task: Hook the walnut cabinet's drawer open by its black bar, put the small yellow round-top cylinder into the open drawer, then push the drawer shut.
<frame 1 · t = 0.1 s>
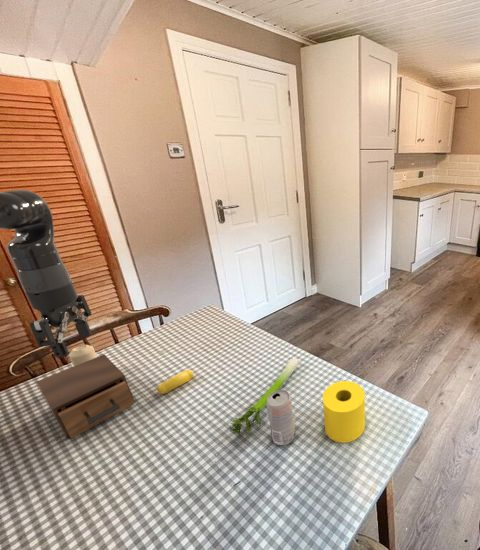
hand: (75, 345, 73), 20 cm above the table, tool pointing down, fingers open, 8 cm apart
yellow toilet paper roll: (345, 425, 76), on the table
energy drink: (284, 437, 73), on the table
drawer: (93, 400, 77), point 5 cm above the table, slide at 1.0 cm
yellow round-top cylinder: (177, 385, 89), on the table
candle: (91, 374, 93), on the table
celery stalk: (270, 398, 84), on the table
cabinet: (93, 405, 82), on the table
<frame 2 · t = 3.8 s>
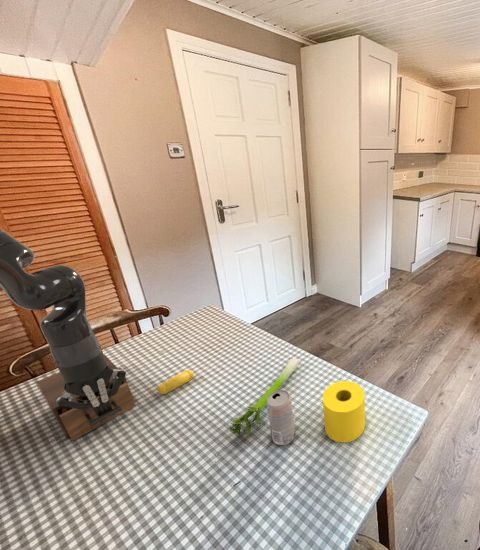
hand: (105, 414, 73), 5 cm above the table, tool pointing down, fingers closed
drawer: (94, 402, 77), point 5 cm above the table, slide at 2.0 cm, touching gripper
everything else where it was.
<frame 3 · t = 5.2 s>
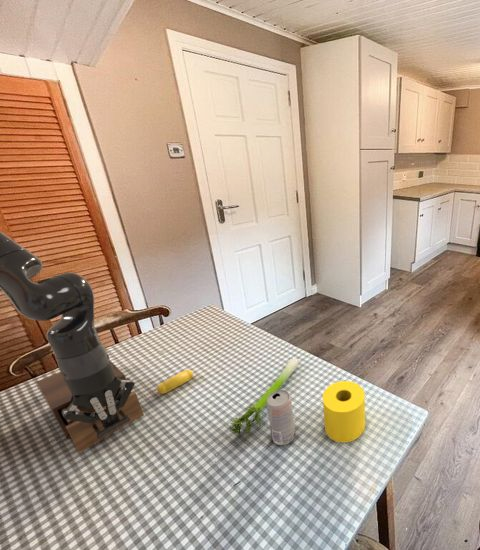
hand: (112, 426, 70), 4 cm above the table, tool pointing down, fingers closed
drawer: (101, 412, 74), point 5 cm above the table, slide at 7.3 cm
everything else where it was.
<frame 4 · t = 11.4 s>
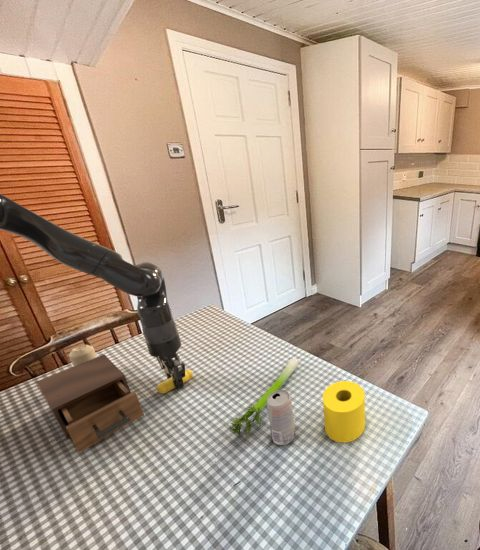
hand: (176, 384, 89), 0 cm above the table, tool pointing down, fingers closed on yellow round-top cylinder, 3 cm apart
yellow round-top cylinder: (177, 385, 89), on the table, tilted 11°, touching gripper
everything else where it was.
when the fingers open (8 cm above the table, at t = 20.8 s): yellow round-top cylinder drops 6 cm, resting on drawer.
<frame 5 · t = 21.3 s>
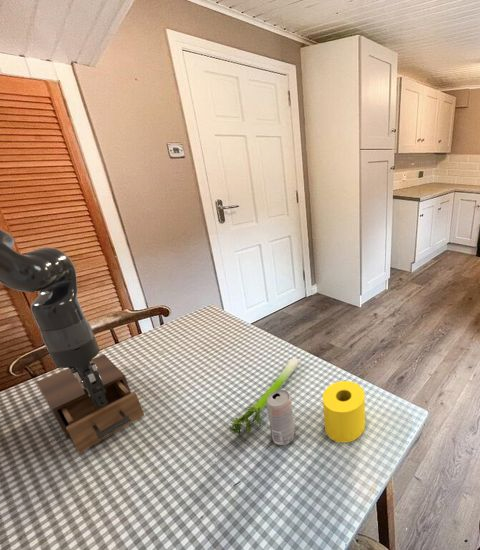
hand: (96, 398, 72), 9 cm above the table, tool pointing down, fingers open, 7 cm apart
drawer: (102, 412, 74), point 5 cm above the table, slide at 7.5 cm, touching yellow round-top cylinder
yellow round-top cylinder: (106, 422, 74), point 2 cm above the table, tilted 10°, touching drawer
everything else where it was.
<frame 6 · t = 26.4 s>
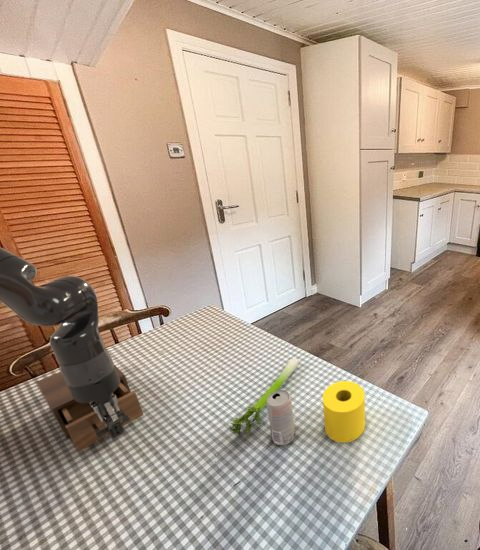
hand: (117, 434, 68), 5 cm above the table, tool pointing down, fingers closed
drawer: (101, 411, 74), point 5 cm above the table, slide at 7.0 cm, touching yellow round-top cylinder, gripper
yellow round-top cylinder: (106, 421, 74), point 2 cm above the table, tilted 19°, touching drawer
everything else where it was.
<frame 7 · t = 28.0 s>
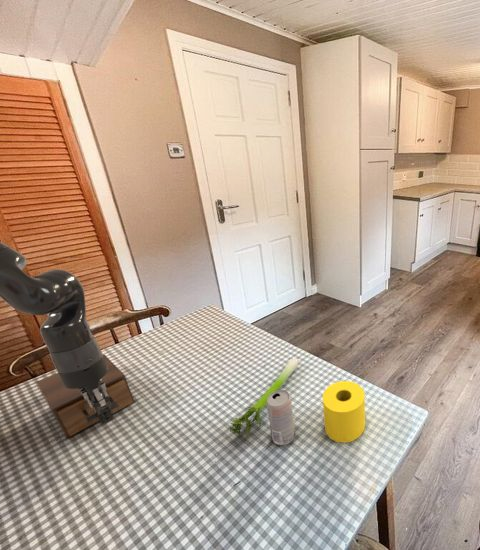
hand: (107, 420, 72), 4 cm above the table, tool pointing down, fingers closed
drawer: (92, 398, 78), point 5 cm above the table, slide at 0.0 cm, touching yellow round-top cylinder, cabinet, gripper
yellow round-top cylinder: (95, 406, 78), point 3 cm above the table, tilted 55°, touching drawer
everything else where it was.
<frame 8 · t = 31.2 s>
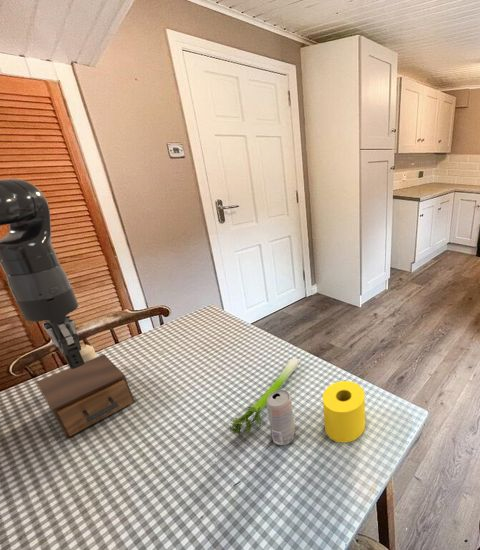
hand: (77, 365, 63), 22 cm above the table, tool pointing down, fingers closed
drawer: (92, 398, 78), point 5 cm above the table, slide at 0.0 cm, touching yellow round-top cylinder, cabinet
yellow round-top cylinder: (84, 388, 82), point 4 cm above the table, tilted 122°, touching drawer
everything else where it was.
at the end: drawer pulled out 7.5 cm at the most during the clip, back to where it started at the end; yellow round-top cylinder inside the target area in the cabinet (2.5 cm from its centre), point 4.6 cm above the cabinet's base; drawer slide at 0.0 cm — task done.
